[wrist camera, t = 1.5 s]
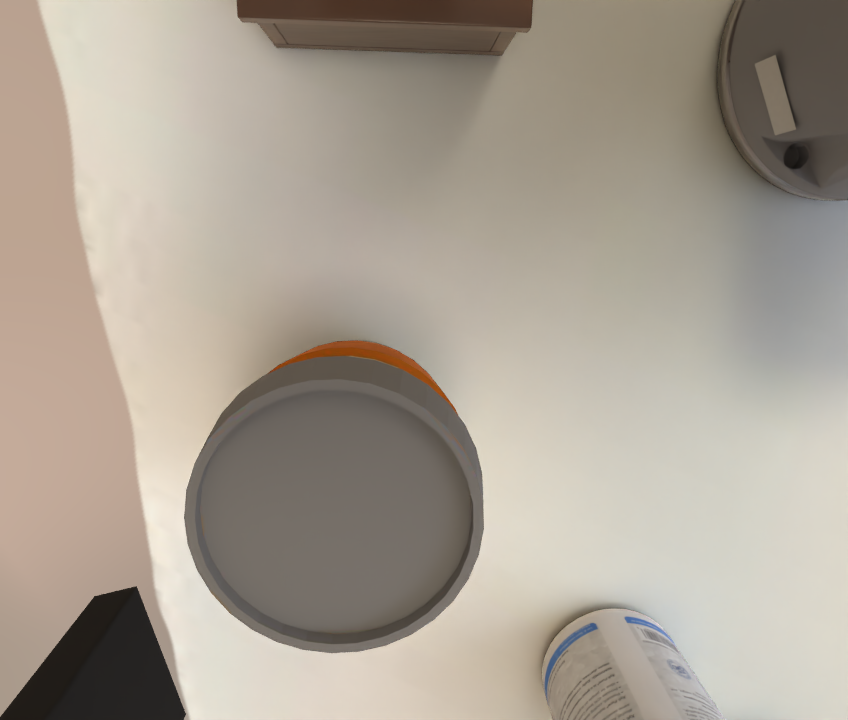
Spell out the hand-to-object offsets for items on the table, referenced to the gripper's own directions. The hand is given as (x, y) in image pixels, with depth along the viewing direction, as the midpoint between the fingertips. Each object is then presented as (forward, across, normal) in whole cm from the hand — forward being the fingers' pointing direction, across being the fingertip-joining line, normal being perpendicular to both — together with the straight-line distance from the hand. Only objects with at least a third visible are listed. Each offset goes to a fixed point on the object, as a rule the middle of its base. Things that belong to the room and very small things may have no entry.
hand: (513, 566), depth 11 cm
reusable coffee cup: (+29, +6, +5) cm, 30 cm away
